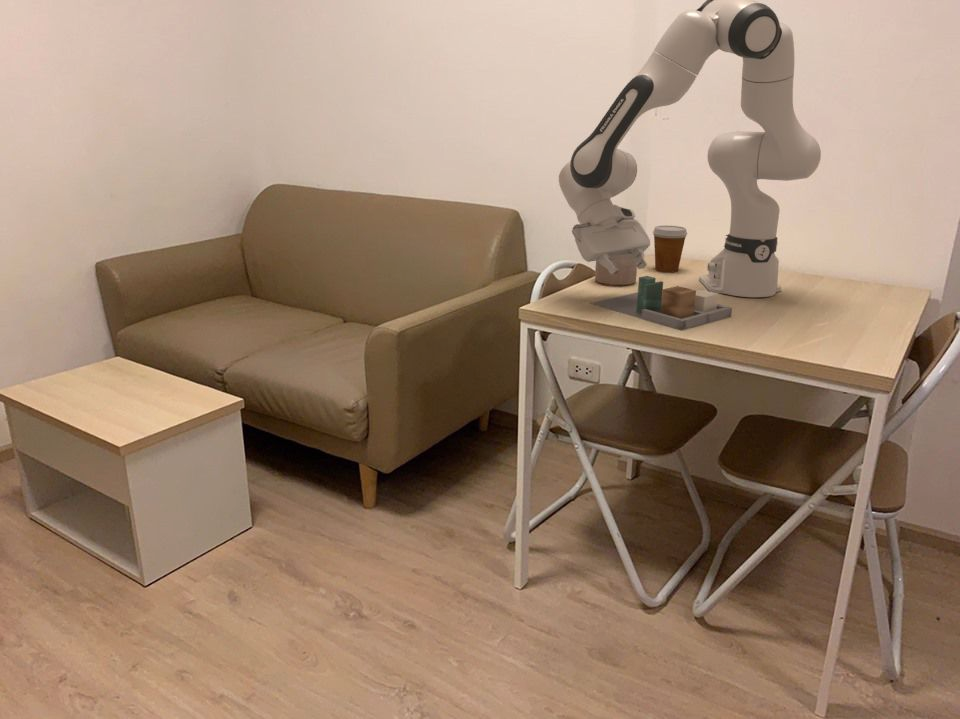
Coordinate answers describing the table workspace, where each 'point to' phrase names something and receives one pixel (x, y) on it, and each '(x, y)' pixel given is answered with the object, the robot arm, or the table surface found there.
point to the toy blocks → (665, 298)
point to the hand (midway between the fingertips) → (629, 270)
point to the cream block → (705, 301)
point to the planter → (624, 274)
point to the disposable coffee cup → (668, 247)
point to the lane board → (629, 306)
